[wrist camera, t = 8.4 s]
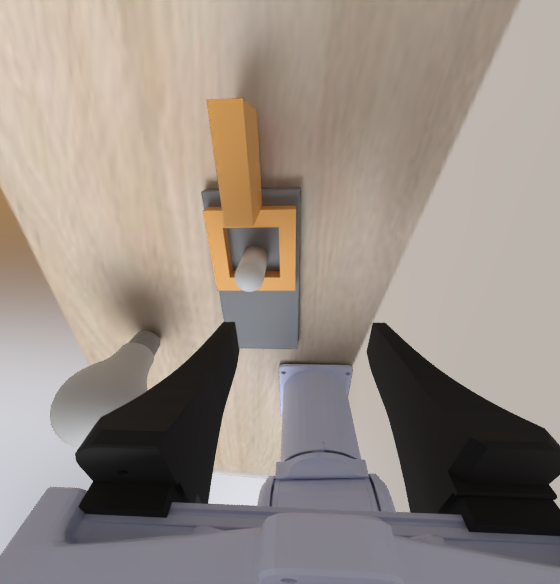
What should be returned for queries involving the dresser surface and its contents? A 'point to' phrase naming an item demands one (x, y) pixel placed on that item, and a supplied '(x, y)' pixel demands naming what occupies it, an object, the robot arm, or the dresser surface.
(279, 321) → the keeper board
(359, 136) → the dresser surface
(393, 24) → the dresser surface
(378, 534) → the robot arm
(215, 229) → the orange loop handle block
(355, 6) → the dresser surface
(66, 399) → the lightbulb
